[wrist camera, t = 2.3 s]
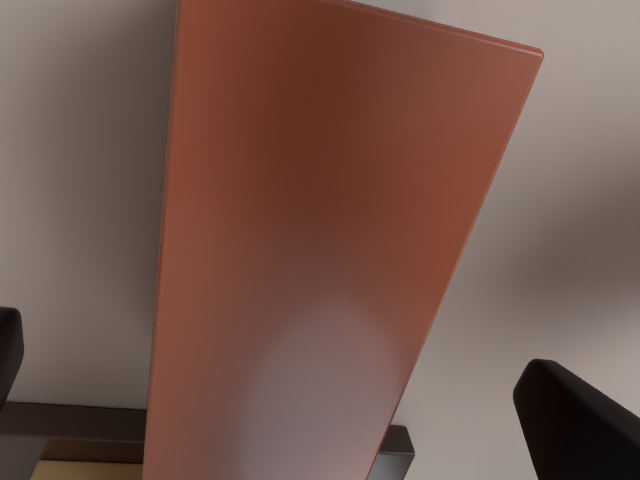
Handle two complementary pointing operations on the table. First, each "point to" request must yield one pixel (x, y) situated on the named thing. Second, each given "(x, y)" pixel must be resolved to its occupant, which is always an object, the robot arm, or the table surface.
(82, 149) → the table surface
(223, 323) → the reddish orange block
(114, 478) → the cork bit
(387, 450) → the board
